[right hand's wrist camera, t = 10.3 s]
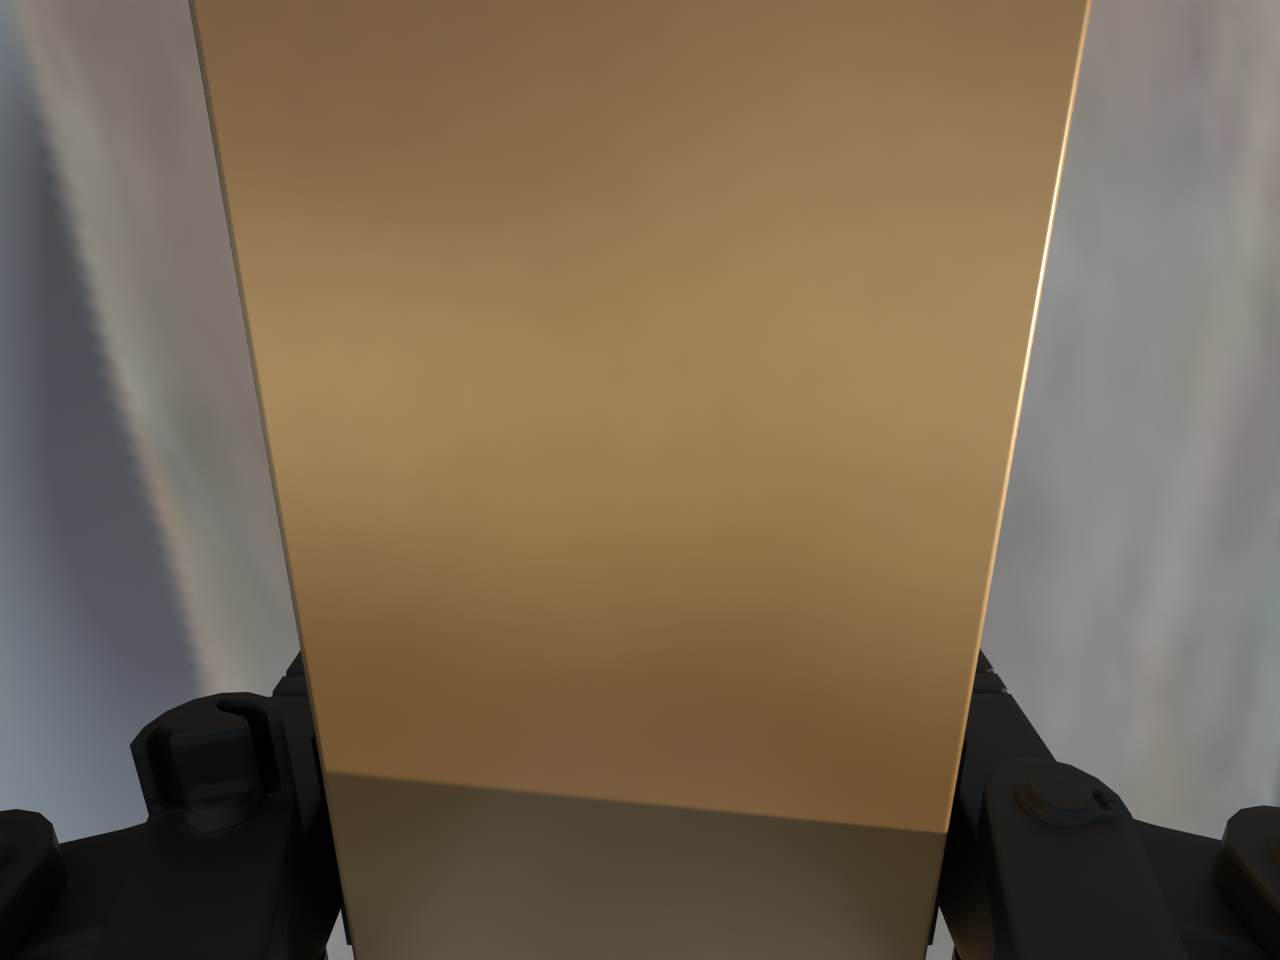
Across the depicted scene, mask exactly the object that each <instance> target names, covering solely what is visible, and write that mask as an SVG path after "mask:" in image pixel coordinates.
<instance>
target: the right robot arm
mask: <svg viewBox="0 0 1280 960" xmlns="http://www.w3.org/2000/svg"><path fill="white" fill-rule="evenodd" d="M993 670H994V669H993V667H992V666H991V664H990V663H989V661H988V660H987V658H986V657H985V655H984V654H983V652H982V651H981V649H980V648H979V654H978V660H977V666H976V671H975V677H974V683H973V689H972V694H971V700H970V706H969V712H968V717H967V723H966V729H965V735H964V740H963V746H962V752H961V758H960V763H959V769H958V775H957V780H956V786H955V792H954V798H953V803H952V809H951V815H950V821H949V826H948V832H947V838H946V844H945V849H944V855H943V861H942V867H941V872H940V878H939V884H938V890H937V895H936V901H935V907H934V913H933V918H932V924H931V930H930V936H929V941H928V945H932V943H933V937H934V932H935V926H936V920H937V915H938V909H939V906H940V909H941V912H942V914H943V917H944V919H945V922H946V924H947V927H948V929H949V932H950V934H951V937H952V939H953V942H954V950H953V955H952V960H1280V807H1272V806H1265V805H1263V806H1257V807H1251V808H1244V809H1240V810H1239V811H1238V812H1237V813H1236V814H1235V815H1233V816H1232V817H1231V818H1230V819H1229V820H1228V822H1227V825H1226V828H1225V831H1224V834H1223V837H1222V840H1217V839H1213V838H1209V837H1204V836H1200V835H1195V834H1191V833H1187V832H1182V831H1178V830H1173V829H1169V828H1164V827H1160V826H1156V825H1152V824H1149V823H1146V822H1142V821H1139V820H1136V819H1133V818H1132V815H1131V813H1130V812H1129V810H1128V809H1127V807H1126V806H1125V804H1124V803H1123V801H1122V800H1121V799H1120V797H1119V796H1118V795H1117V794H1116V793H1115V792H1114V791H1112V790H1111V789H1110V788H1109V787H1107V786H1106V785H1105V784H1104V783H1102V782H1101V781H1100V780H1099V779H1097V778H1096V777H1094V776H1092V775H1090V774H1088V773H1086V772H1084V771H1082V770H1080V769H1078V768H1075V767H1073V766H1071V765H1068V764H1064V763H1060V762H1057V761H1056V760H1055V758H1054V757H1053V756H1052V754H1051V753H1050V751H1049V750H1048V748H1047V747H1046V745H1045V744H1044V742H1043V741H1042V739H1041V738H1040V736H1039V735H1038V733H1037V732H1036V730H1035V729H1034V728H1033V726H1032V725H1031V723H1030V722H1029V720H1028V719H1027V717H1026V716H1025V714H1024V713H1023V711H1022V710H1021V708H1020V707H1019V705H1018V704H1017V702H1016V701H1015V700H1014V698H1013V697H1012V695H1011V694H1008V693H1007V688H1006V686H1005V685H1004V683H1003V682H1002V680H1001V679H1000V677H999V676H998V675H997V673H994V671H993ZM130 748H131V752H132V755H133V759H134V763H135V766H136V770H137V774H138V777H139V781H140V785H141V788H142V792H143V795H144V799H145V803H146V806H147V810H148V814H149V817H148V819H147V822H146V823H143V824H139V825H136V826H133V827H129V828H126V829H122V830H118V831H114V832H109V833H105V834H100V835H96V836H91V837H87V838H83V839H78V840H74V841H69V842H65V843H61V844H59V843H58V840H57V837H56V834H55V831H54V828H53V825H52V823H51V822H50V821H48V820H47V819H46V818H45V817H44V816H43V815H42V814H40V813H38V812H32V811H26V810H19V809H14V810H6V811H0V960H328V955H327V950H326V945H327V942H328V940H329V937H330V934H331V932H332V929H333V927H334V924H335V922H336V919H337V917H338V914H339V912H340V909H341V913H342V918H343V924H344V930H345V935H346V941H347V945H352V943H351V938H350V932H349V926H348V920H347V914H346V909H345V903H344V897H343V891H342V886H341V880H340V874H339V868H338V862H337V857H336V851H335V845H334V839H333V833H332V828H331V822H330V816H329V810H328V805H327V799H326V793H325V787H324V781H323V776H322V770H321V764H320V758H319V753H318V747H317V741H316V735H315V729H314V724H313V718H312V712H311V706H310V701H309V695H308V689H307V683H306V677H305V672H304V666H303V660H302V654H301V650H300V652H299V653H298V655H297V656H296V658H295V659H294V661H293V662H292V664H291V665H290V667H289V668H288V670H287V671H286V676H283V677H282V679H281V680H280V682H279V683H278V684H277V686H276V687H275V689H274V690H273V695H272V697H265V696H261V695H258V694H254V693H250V692H234V693H219V694H215V695H211V696H206V697H202V698H198V699H194V700H192V701H189V702H187V703H185V704H182V705H180V706H178V707H175V708H173V709H171V710H168V711H166V712H165V713H163V714H162V715H161V716H159V717H158V718H156V719H155V720H153V721H152V722H151V723H149V724H148V725H146V726H145V727H144V728H143V729H142V730H141V731H140V733H139V734H138V735H137V737H136V738H135V739H134V740H133V742H132V743H131V744H130Z"/></svg>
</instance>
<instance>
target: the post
mask: <svg viewBox="0 0 1280 960" xmlns="http://www.w3.org/2000/svg"><path fill="white" fill-rule="evenodd" d="M188 1H189V7H190V12H191V18H192V24H193V30H194V36H195V41H196V47H197V53H198V59H199V64H200V70H201V76H202V82H203V88H204V93H205V99H206V105H207V111H208V117H209V122H210V128H211V134H212V140H213V145H214V151H215V157H216V163H217V169H218V174H219V180H220V186H221V192H222V197H223V203H224V209H225V215H226V221H227V226H228V232H229V238H230V244H231V249H232V255H233V261H234V267H235V273H236V278H237V284H238V290H239V296H240V302H241V307H242V313H243V319H244V325H245V330H246V336H247V342H248V348H249V354H250V359H251V365H252V371H253V377H254V382H255V388H256V394H257V400H258V406H259V411H260V417H261V423H262V429H263V435H264V440H265V446H266V452H267V458H268V463H269V469H270V475H271V481H272V487H273V492H274V498H275V504H276V510H277V515H278V521H279V527H280V533H281V539H282V544H283V550H284V556H285V562H286V568H287V573H288V579H289V585H290V591H291V596H292V602H293V608H294V614H295V620H296V625H297V631H298V637H299V643H300V648H301V654H302V660H303V666H304V672H305V677H306V683H307V689H308V695H309V701H310V706H311V712H312V718H313V724H314V729H315V735H316V741H317V747H318V753H319V758H320V764H321V770H322V776H323V781H324V787H325V793H326V799H327V805H328V810H329V816H330V822H331V828H332V833H333V839H334V845H335V851H336V857H337V862H338V868H339V874H340V880H341V886H342V891H343V897H344V903H345V909H346V914H347V920H348V926H349V932H350V938H351V943H352V949H353V955H354V960H925V959H926V953H927V947H928V941H929V936H930V930H931V924H932V918H933V913H934V907H935V901H936V895H937V890H938V884H939V878H940V872H941V867H942V861H943V855H944V849H945V844H946V838H947V832H948V826H949V821H950V815H951V809H952V803H953V798H954V792H955V786H956V780H957V775H958V769H959V763H960V758H961V752H962V746H963V740H964V735H965V729H966V723H967V717H968V712H969V706H970V700H971V694H972V689H973V683H974V677H975V671H976V666H977V660H978V654H979V648H980V643H981V637H982V631H983V625H984V620H985V614H986V608H987V602H988V597H989V591H990V585H991V579H992V574H993V568H994V562H995V556H996V551H997V545H998V539H999V533H1000V528H1001V522H1002V516H1003V510H1004V505H1005V499H1006V493H1007V487H1008V482H1009V476H1010V470H1011V464H1012V459H1013V453H1014V447H1015V441H1016V436H1017V430H1018V424H1019V419H1020V413H1021V407H1022V401H1023V396H1024V390H1025V384H1026V378H1027V373H1028V367H1029V361H1030V355H1031V350H1032V344H1033V338H1034V332H1035V327H1036V321H1037V315H1038V309H1039V304H1040V298H1041V292H1042V286H1043V281H1044V275H1045V269H1046V263H1047V258H1048V252H1049V246H1050V240H1051V235H1052V229H1053V223H1054V217H1055V212H1056V206H1057V200H1058V194H1059V189H1060V183H1061V177H1062V171H1063V166H1064V160H1065V154H1066V148H1067V143H1068V137H1069V131H1070V125H1071V120H1072V114H1073V108H1074V102H1075V97H1076V91H1077V85H1078V80H1079V74H1080V68H1081V62H1082V57H1083V51H1084V45H1085V39H1086V34H1087V28H1088V22H1089V16H1090V11H1091V5H1092V0H188Z"/></svg>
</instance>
